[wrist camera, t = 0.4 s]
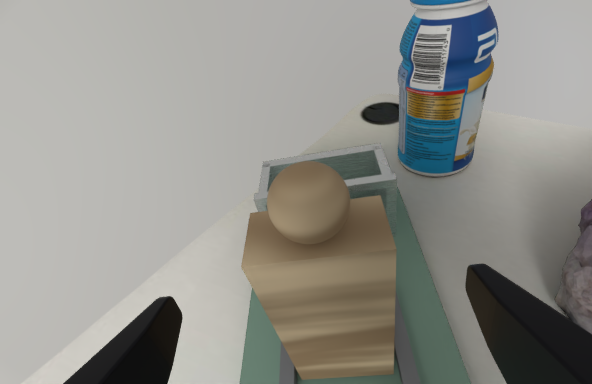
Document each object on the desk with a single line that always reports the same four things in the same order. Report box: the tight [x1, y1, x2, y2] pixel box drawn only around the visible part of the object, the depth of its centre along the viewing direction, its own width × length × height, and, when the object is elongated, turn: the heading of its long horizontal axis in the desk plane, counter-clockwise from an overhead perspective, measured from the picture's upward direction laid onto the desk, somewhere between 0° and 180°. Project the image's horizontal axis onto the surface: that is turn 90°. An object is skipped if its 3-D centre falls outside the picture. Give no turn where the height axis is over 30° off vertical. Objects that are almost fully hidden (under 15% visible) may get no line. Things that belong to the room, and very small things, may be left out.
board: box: [240, 187, 471, 384], centre depth 25 cm, size 24×15×2 cm, turn 179°
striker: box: [241, 161, 397, 380], centre depth 16 cm, size 3×6×16 cm, turn 89°
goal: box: [254, 143, 397, 236], centre depth 29 cm, size 6×12×7 cm, turn 89°
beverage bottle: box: [398, 0, 498, 176], centre depth 30 cm, size 8×8×20 cm
